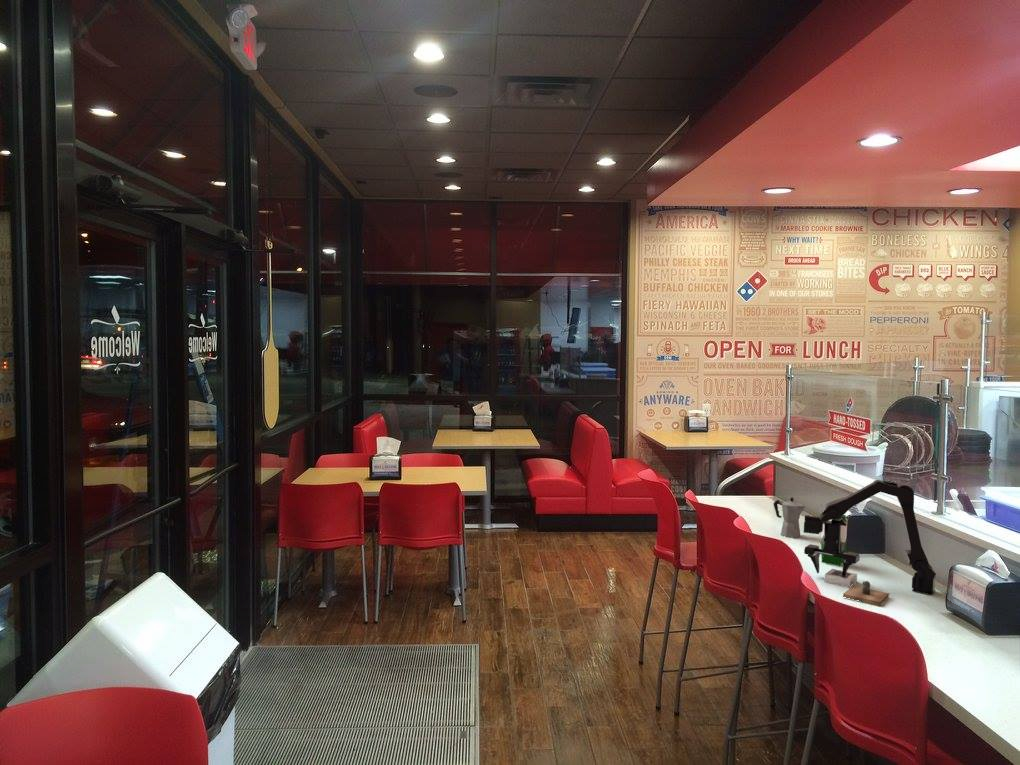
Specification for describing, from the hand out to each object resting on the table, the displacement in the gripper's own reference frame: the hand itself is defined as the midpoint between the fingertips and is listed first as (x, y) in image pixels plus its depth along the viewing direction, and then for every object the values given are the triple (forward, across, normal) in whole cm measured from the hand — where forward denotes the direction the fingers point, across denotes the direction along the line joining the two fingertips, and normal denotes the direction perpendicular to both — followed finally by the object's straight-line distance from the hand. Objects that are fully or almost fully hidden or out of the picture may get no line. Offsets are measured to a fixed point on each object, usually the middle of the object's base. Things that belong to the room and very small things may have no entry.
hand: (830, 575), depth 278 cm
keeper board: (+1, -16, +12) cm, 20 cm away
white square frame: (+1, -4, 0) cm, 4 cm away
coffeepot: (+2, +35, -54) cm, 64 cm away
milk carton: (+2, +6, -24) cm, 25 cm away
